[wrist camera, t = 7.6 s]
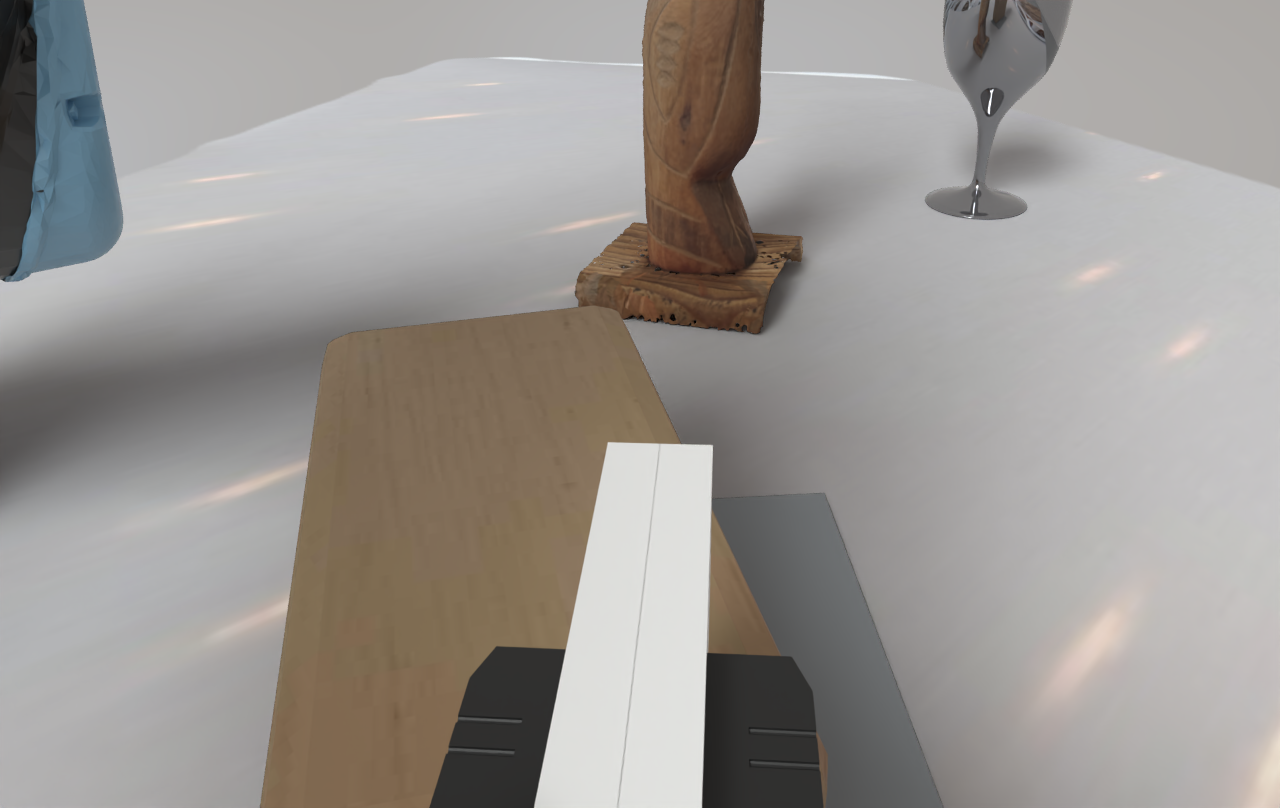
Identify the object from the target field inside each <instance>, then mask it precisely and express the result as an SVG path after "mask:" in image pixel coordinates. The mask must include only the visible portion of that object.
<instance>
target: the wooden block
mask: <svg viewBox="0 0 1280 808" xmlns="http://www.w3.org/2000/svg"><path fill="white" fill-rule="evenodd" d="M608 442H615V443H653V444H681V442H680V440H679V438H678V436H677V433H676V431H675V429H674V427H673V425H672V423H671V421H670V419H669V416H668V414H667V412H666V410H665V408H664V406H663V404H662V402H661V399H660V397H659V395H658V393H657V391H656V389H655V387H654V385H653V382H652V380H651V378H650V376H649V374H648V372H647V370H646V368H645V365H644V363H643V361H642V359H641V357H640V355H639V353H638V351H637V348H636V346H635V344H634V342H633V340H632V338H631V336H630V334H629V332H628V329H627V327H626V325H625V324H624V322H623V320H622V318H621V316H620V314H619V312H618V311H616V310H613V309H610V308H605V307H599V306H585V307H576V308H567V309H558V310H549V311H540V312H531V313H522V314H513V315H504V316H495V317H486V318H477V319H468V320H459V321H450V322H441V323H432V324H422V325H413V326H404V327H395V328H386V329H377V330H368V331H359V332H351V333H349V334H346V335H344V336H341V337H339V338H336V339H334V340H333V341H331V342H330V343H329V344H328V345H327V349H326V352H325V356H324V360H323V364H322V370H321V377H320V384H319V392H318V399H317V406H316V413H315V420H314V427H313V434H312V441H311V448H310V456H309V463H308V470H307V477H306V484H305V491H304V498H303V505H302V512H301V520H300V527H299V534H298V541H297V548H296V555H295V562H294V569H293V576H292V584H291V591H290V598H289V605H288V612H287V619H286V626H285V633H284V640H283V648H282V655H281V662H280V669H279V676H278V683H277V690H276V697H275V704H274V712H273V719H272V726H271V733H270V740H269V747H268V754H267V761H266V768H265V776H264V783H263V790H262V797H261V804H260V808H429V807H430V804H431V800H432V797H433V794H434V791H435V787H436V784H437V781H438V778H439V775H440V771H441V768H442V765H443V762H444V758H445V755H446V754H448V749H449V747H448V745H449V742H450V739H451V736H452V733H453V729H454V726H455V723H456V722H457V721H458V713H459V710H460V707H461V703H462V700H463V697H464V694H465V691H466V687H467V684H468V681H469V678H470V676H471V675H472V674H473V673H474V672H475V671H476V669H477V668H478V667H479V666H480V665H481V664H482V662H483V661H484V660H485V659H486V658H487V657H488V655H489V654H490V653H491V652H492V651H493V650H494V648H495V647H496V646H504V647H527V648H550V649H566V647H567V642H568V637H569V632H570V627H571V623H572V618H573V613H574V608H575V603H576V598H577V593H578V588H579V583H580V578H581V573H582V568H583V563H584V558H585V553H586V548H587V543H588V539H589V534H590V529H591V524H592V519H593V514H594V509H595V504H596V499H597V494H598V489H599V484H600V479H601V474H602V469H603V464H604V460H605V455H606V450H607V445H608ZM708 653H722V654H745V655H768V656H781V654H780V652H779V650H778V648H777V646H776V644H775V641H774V639H773V637H772V635H771V633H770V631H769V629H768V627H767V624H766V622H765V620H764V618H763V616H762V614H761V612H760V610H759V608H758V605H757V603H756V601H755V599H754V597H753V595H752V593H751V591H750V588H749V586H748V584H747V582H746V580H745V578H744V576H743V574H742V571H741V569H740V567H739V565H738V563H737V561H736V559H735V557H734V554H733V552H732V550H731V548H730V546H729V544H728V542H727V540H726V537H725V535H724V533H723V531H722V529H721V527H720V525H719V523H718V520H717V518H716V516H715V514H714V512H713V510H712V515H711V565H710V608H709V643H708ZM816 737H817V741H818V751H819V762H820V763H819V769H820V773H821V783H822V794H823V805H824V808H825V805H826V796H827V774H828V754H827V752H826V750H825V748H824V746H823V743H822V741H821V739H820V737H819V735H818V733H817V731H816Z"/></svg>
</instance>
